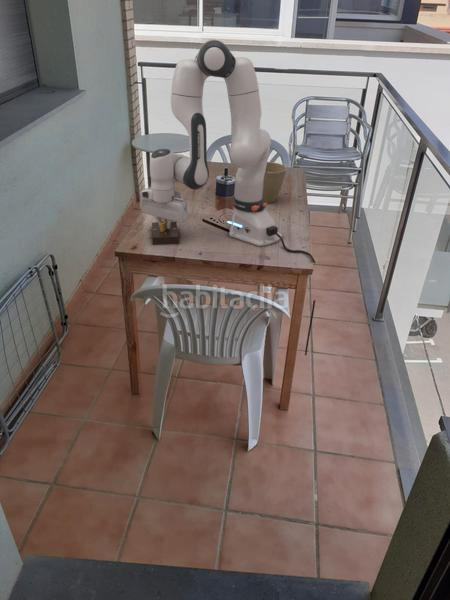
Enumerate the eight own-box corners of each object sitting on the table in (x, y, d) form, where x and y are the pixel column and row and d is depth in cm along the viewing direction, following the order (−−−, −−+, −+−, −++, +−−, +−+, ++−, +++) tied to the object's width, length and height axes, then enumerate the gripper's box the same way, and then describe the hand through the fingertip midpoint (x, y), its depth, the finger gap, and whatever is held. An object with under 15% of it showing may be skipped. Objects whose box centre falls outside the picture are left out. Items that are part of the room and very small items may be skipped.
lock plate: (178, 243, 182) (178, 236, 180) (152, 244, 181) (152, 237, 179) (176, 228, 194) (176, 221, 192) (152, 229, 192) (151, 222, 191)
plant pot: (267, 208, 213) (270, 174, 204) (245, 199, 222) (246, 165, 213) (289, 201, 222) (293, 167, 213) (267, 192, 231) (269, 159, 222)
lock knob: (163, 231, 183) (162, 223, 182) (159, 231, 184) (159, 223, 182) (169, 227, 187) (169, 219, 185) (166, 226, 188) (166, 218, 186)
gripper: (190, 196, 176) (191, 230, 184) (146, 186, 184) (148, 219, 192) (181, 202, 171) (182, 236, 179) (136, 191, 179) (139, 224, 187)
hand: (164, 227), depth 185 cm, fingers closed on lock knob
